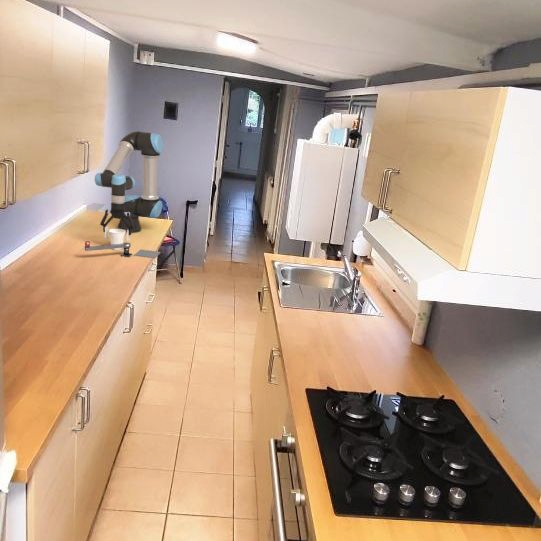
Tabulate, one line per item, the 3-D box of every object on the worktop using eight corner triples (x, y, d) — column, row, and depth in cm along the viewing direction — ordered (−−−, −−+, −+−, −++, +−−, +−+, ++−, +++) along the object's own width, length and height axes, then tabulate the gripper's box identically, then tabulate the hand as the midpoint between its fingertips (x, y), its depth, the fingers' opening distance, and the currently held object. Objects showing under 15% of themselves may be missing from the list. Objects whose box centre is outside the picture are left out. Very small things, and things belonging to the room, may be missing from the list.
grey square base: (123, 253, 310) (123, 245, 309) (132, 254, 310) (132, 246, 309) (120, 256, 306) (120, 247, 304) (129, 257, 305) (129, 249, 304)
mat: (140, 250, 321) (140, 249, 321) (160, 252, 320) (160, 251, 320) (134, 255, 309) (134, 254, 309) (154, 258, 309) (155, 257, 309)
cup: (123, 252, 314) (123, 233, 310) (105, 250, 314) (106, 231, 310) (127, 247, 323) (128, 229, 320) (111, 246, 323) (111, 227, 320)
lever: (83, 249, 293) (83, 240, 292) (128, 245, 309) (128, 237, 308) (86, 251, 290) (86, 242, 288) (131, 247, 306) (132, 239, 305)
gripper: (94, 201, 307) (94, 238, 314) (137, 206, 306) (135, 243, 313) (99, 198, 314) (98, 235, 321) (141, 203, 313) (139, 240, 320)
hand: (117, 239), depth 317 cm, fingers open, 12 cm apart
